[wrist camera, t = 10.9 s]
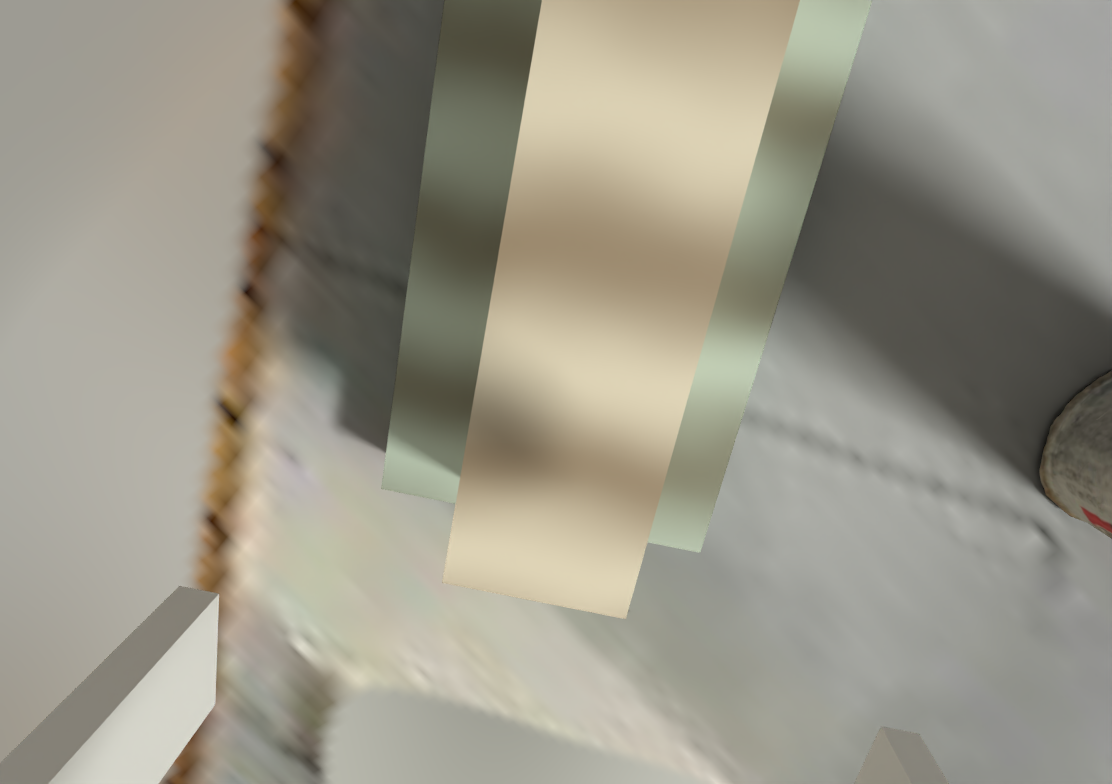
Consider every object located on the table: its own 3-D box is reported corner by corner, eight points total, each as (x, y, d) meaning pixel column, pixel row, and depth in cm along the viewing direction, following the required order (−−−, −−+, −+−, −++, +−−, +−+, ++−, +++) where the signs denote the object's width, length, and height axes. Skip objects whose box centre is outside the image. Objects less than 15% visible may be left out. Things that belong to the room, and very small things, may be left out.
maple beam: (587, -127, 20) (590, -282, 14) (770, -85, 20) (861, -220, 14) (477, 485, 27) (442, 582, 20) (615, 513, 27) (625, 618, 20)
